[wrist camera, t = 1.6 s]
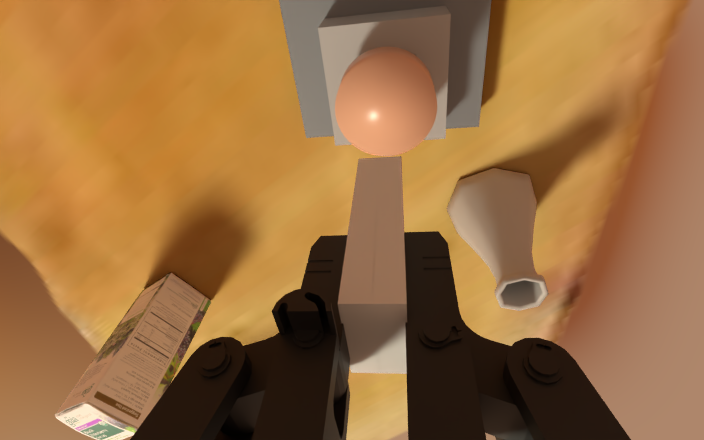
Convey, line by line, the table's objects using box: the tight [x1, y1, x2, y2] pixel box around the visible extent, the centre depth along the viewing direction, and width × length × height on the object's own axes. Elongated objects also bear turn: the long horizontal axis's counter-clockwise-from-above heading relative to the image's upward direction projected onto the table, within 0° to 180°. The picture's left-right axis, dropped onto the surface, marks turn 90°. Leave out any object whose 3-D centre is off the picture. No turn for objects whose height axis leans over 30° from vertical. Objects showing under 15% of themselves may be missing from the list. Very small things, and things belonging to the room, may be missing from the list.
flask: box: [447, 168, 549, 311], centre depth 28 cm, size 7×7×10 cm
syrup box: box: [55, 273, 211, 440], centre depth 37 cm, size 6×6×14 cm
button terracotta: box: [335, 47, 437, 156], centre depth 21 cm, size 5×5×4 cm
